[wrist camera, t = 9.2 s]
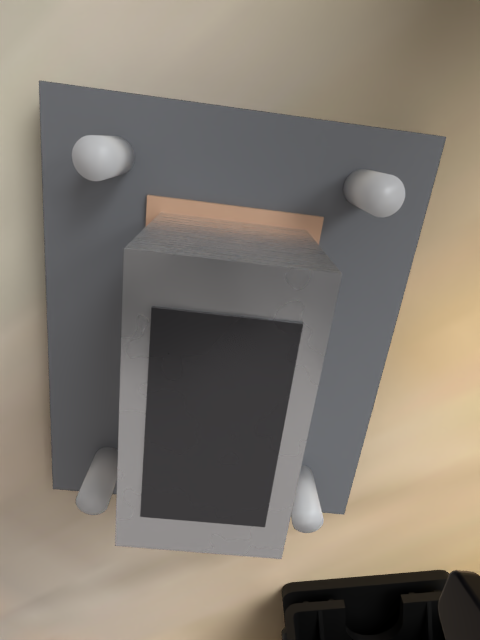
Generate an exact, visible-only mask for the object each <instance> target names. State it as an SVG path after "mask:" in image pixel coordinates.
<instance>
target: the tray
mask: <svg viewBox="0 0 480 640" xmlns="http://www.w3.org/2000/svg"><path fill="white" fill-rule="evenodd" d="M39 97H40V126H41V155H42V184H43V213H44V242H45V271H46V300H47V329H48V358H49V387H50V417H51V446H52V475H53V489H60V490H71V491H79V493H78V495H77V497H76V505H77V507H78V508H79V509H80V510H81V511H82V512H84V513H86V514H90V515H98V514H101V513H103V512H104V511H105V510H106V509H107V507H108V504H109V501H110V499H111V496H112V494H117V467H118V433H119V399H120V364H121V330H122V295H123V261H124V248H125V247H126V246H127V245H128V244H129V243H130V242H131V241H132V240H133V239H134V238H135V237H136V236H137V235H138V234H139V233H140V232H141V231H142V230H143V229H144V228H145V227H146V226H147V225H148V224H149V223H150V222H151V221H152V220H153V219H154V218H155V217H156V216H157V215H158V214H160V213H161V212H162V213H170V214H179V215H187V216H195V217H203V218H211V219H220V220H228V221H236V222H244V223H252V224H260V225H269V226H277V227H285V228H293V229H301V230H307V231H308V233H309V234H310V235H311V236H312V237H313V239H314V240H315V241H316V242H317V244H318V245H319V246H320V247H321V248H322V250H323V251H324V252H325V253H326V255H327V256H328V257H329V258H330V260H331V261H332V262H333V263H334V264H335V266H336V267H337V268H338V269H339V271H340V272H341V273H342V277H341V282H340V287H339V292H338V296H337V301H336V306H335V310H334V315H333V320H332V324H331V329H330V334H329V338H328V343H327V348H326V353H325V357H324V362H323V367H322V371H321V376H320V381H319V385H318V390H317V395H316V399H315V404H314V409H313V413H312V418H311V423H310V428H309V432H308V437H307V442H306V446H305V451H304V456H303V460H302V465H301V470H300V474H299V479H298V484H297V489H296V493H295V498H294V503H293V507H292V512H291V518H292V524H293V526H294V528H295V529H296V530H298V531H299V532H303V533H311V532H314V531H316V530H318V529H319V528H320V527H321V526H322V524H323V515H322V512H323V513H334V514H344V513H345V509H346V505H347V502H348V498H349V494H350V490H351V487H352V483H353V479H354V476H355V472H356V468H357V465H358V461H359V457H360V454H361V450H362V446H363V443H364V439H365V435H366V431H367V428H368V424H369V420H370V417H371V413H372V409H373V406H374V402H375V398H376V395H377V391H378V387H379V383H380V380H381V376H382V372H383V369H384V365H385V361H386V358H387V354H388V350H389V347H390V343H391V339H392V336H393V332H394V328H395V324H396V321H397V317H398V313H399V310H400V306H401V302H402V299H403V295H404V291H405V288H406V284H407V280H408V277H409V273H410V269H411V265H412V262H413V258H414V254H415V251H416V247H417V243H418V240H419V236H420V232H421V229H422V225H423V221H424V218H425V214H426V210H427V206H428V203H429V199H430V195H431V192H432V188H433V184H434V181H435V177H436V173H437V170H438V166H439V162H440V158H441V155H442V151H443V147H444V144H445V140H446V137H443V136H436V135H429V134H422V133H415V132H407V131H400V130H393V129H386V128H378V127H371V126H364V125H357V124H350V123H342V122H335V121H328V120H321V119H313V118H306V117H299V116H292V115H285V114H277V113H270V112H263V111H256V110H248V109H241V108H234V107H227V106H220V105H212V104H205V103H198V102H191V101H183V100H176V99H169V98H162V97H155V96H147V95H140V94H133V93H126V92H118V91H111V90H104V89H97V88H89V87H82V86H75V85H68V84H61V83H53V82H46V81H39Z"/></svg>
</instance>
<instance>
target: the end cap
mask: <svg viewBox="0 0 480 640" xmlns="http://www.w3.org/2000/svg"><path fill="white" fill-rule="evenodd" d="M448 577H449V573H448V572H446V571H444V570H433V571H422V572H410V573H398V574H386V575H374V576H363V577H351V578H339V579H327V580H315V581H303V582H292V583H288V584H286V585H285V586H284V587H283V589H282V597H283V608H284V618H285V628H284V629H283V630H282V640H445V636H444V632H443V628H442V624H441V621H440V617H439V611H438V604H439V599H440V596H441V594H442V591H443V589H444V586H445V584H446V582H447V579H448Z"/></svg>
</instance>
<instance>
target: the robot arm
mask: <svg viewBox="0 0 480 640" xmlns="http://www.w3.org/2000/svg"><path fill="white" fill-rule="evenodd" d="M438 611H439V617H440V621H441V624H442V628H443V632H444V636H445V640H480V576H479V575H478V574H476V573H474V572H470V571H458V570H455V571H452V572H451V573H450V574H449V577H448V579H447V582H446V584H445V586H444V589H443V591H442V594H441V596H440V599H439V604H438Z"/></svg>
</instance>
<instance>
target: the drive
mask: <svg viewBox="0 0 480 640" xmlns="http://www.w3.org/2000/svg"><path fill="white" fill-rule="evenodd" d="M341 277H342V273H341V272H340V271H339V269H338V268H337V267H336V266H335V264H334V263H333V262H332V261H331V260H330V258H329V257H328V256H327V255H326V253H325V252H324V251H323V250H322V248H321V247H320V246H319V245H318V244H317V242H316V241H315V240H314V239H313V237H312V236H311V235H310V234H309V233H308V231H307V230H301V229H293V228H285V227H277V226H269V225H260V224H252V223H244V222H236V221H228V220H220V219H211V218H203V217H195V216H187V215H179V214H170V213H162V212H161V213H160V214H158V215H157V216H156V217H155V218H154V219H153V220H152V221H151V222H150V223H149V224H148V225H147V226H146V227H145V228H144V229H143V230H142V231H141V232H140V233H139V234H138V235H137V236H136V237H135V238H134V239H133V240H132V241H131V242H130V243H129V244H128V245H127V246H126V247H125V248H124V261H123V295H122V330H121V364H120V399H119V433H118V467H117V502H116V536H115V546H125V547H137V548H150V549H162V550H175V551H187V552H200V553H212V554H225V555H237V556H250V557H263V558H275V559H282V554H283V550H284V545H285V540H286V535H287V531H288V526H289V521H290V517H291V512H292V507H293V503H294V498H295V493H296V489H297V484H298V479H299V474H300V470H301V465H302V460H303V456H304V451H305V446H306V442H307V437H308V432H309V428H310V423H311V418H312V413H313V409H314V404H315V399H316V395H317V390H318V385H319V381H320V376H321V371H322V367H323V362H324V357H325V353H326V348H327V343H328V338H329V334H330V329H331V324H332V320H333V315H334V310H335V306H336V301H337V296H338V292H339V287H340V282H341Z"/></svg>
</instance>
